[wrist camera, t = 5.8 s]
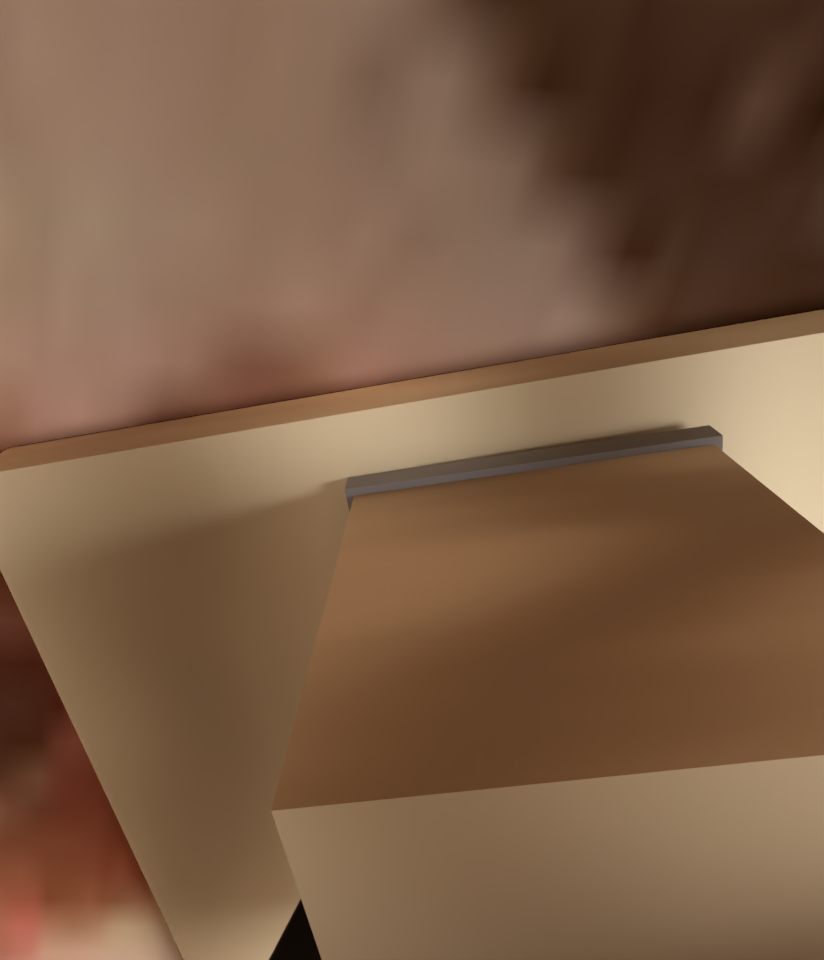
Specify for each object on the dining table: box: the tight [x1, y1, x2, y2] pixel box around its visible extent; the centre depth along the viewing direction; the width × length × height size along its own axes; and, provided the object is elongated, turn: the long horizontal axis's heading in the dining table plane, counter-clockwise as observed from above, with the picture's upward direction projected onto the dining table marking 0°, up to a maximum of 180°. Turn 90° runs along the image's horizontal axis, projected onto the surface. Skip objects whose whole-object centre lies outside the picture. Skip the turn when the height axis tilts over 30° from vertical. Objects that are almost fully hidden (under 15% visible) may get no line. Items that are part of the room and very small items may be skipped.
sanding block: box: [271, 425, 824, 960], centre depth 7 cm, size 5×8×5 cm, turn 9°
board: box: [0, 309, 824, 960], centre depth 13 cm, size 14×24×1 cm, turn 9°
